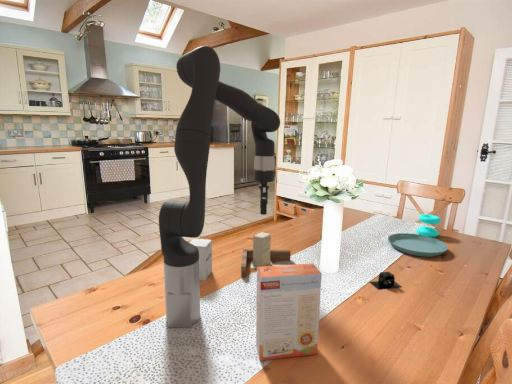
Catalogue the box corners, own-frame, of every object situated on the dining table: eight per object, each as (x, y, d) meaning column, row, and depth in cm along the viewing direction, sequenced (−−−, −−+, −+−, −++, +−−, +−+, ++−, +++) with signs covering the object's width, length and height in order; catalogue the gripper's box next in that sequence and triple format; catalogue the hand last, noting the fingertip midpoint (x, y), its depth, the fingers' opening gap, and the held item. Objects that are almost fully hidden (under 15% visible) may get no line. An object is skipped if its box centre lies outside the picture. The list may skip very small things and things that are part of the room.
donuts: (414, 213, 159) (430, 213, 161) (412, 232, 161) (427, 230, 163) (429, 219, 149) (445, 218, 152) (426, 238, 151) (443, 237, 154)
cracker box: (309, 338, 77) (314, 261, 72) (317, 355, 71) (323, 273, 67) (254, 343, 74) (256, 264, 70) (258, 361, 69) (260, 277, 64)
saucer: (398, 235, 155) (398, 229, 155) (452, 249, 139) (453, 242, 138) (378, 247, 138) (379, 241, 138) (438, 264, 122) (439, 257, 121)
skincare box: (261, 268, 114) (262, 238, 111) (252, 265, 116) (252, 235, 114) (270, 262, 119) (271, 233, 117) (261, 260, 121) (261, 231, 119)
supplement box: (205, 281, 104) (205, 246, 102) (185, 278, 106) (184, 244, 103) (212, 271, 111) (212, 239, 109) (194, 269, 113) (193, 237, 110)
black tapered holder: (375, 292, 100) (376, 280, 99) (363, 282, 107) (364, 270, 106) (408, 289, 103) (410, 277, 102) (394, 279, 110) (396, 267, 109)
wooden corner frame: (294, 278, 108) (295, 267, 107) (241, 277, 108) (241, 266, 107) (289, 259, 124) (290, 250, 123) (242, 258, 123) (243, 249, 123)
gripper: (254, 165, 117) (253, 206, 120) (253, 170, 103) (253, 216, 106) (273, 166, 117) (272, 206, 120) (275, 171, 103) (274, 216, 106)
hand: (263, 211), depth 113 cm, fingers open, 8 cm apart
